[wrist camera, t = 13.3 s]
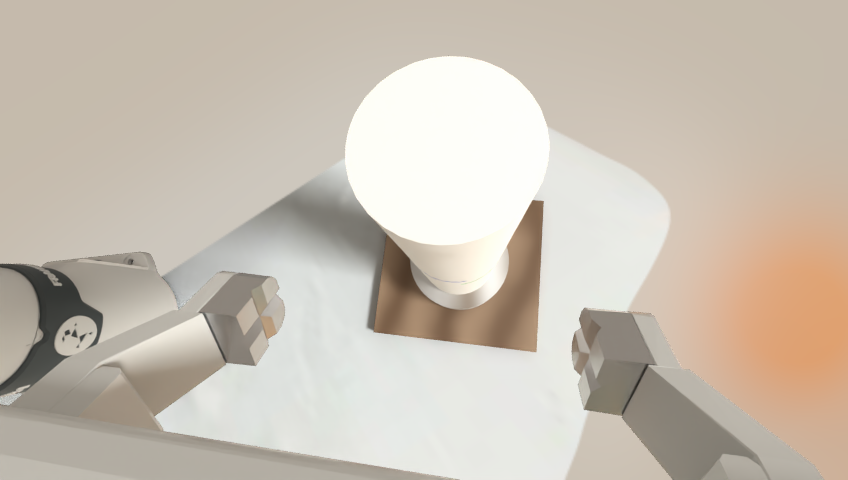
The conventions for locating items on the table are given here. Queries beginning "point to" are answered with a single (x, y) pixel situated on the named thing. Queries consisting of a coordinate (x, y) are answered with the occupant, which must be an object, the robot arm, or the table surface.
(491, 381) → the table surface
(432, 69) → the cylindrical container
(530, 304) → the base
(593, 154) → the table surface
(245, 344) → the robot arm
